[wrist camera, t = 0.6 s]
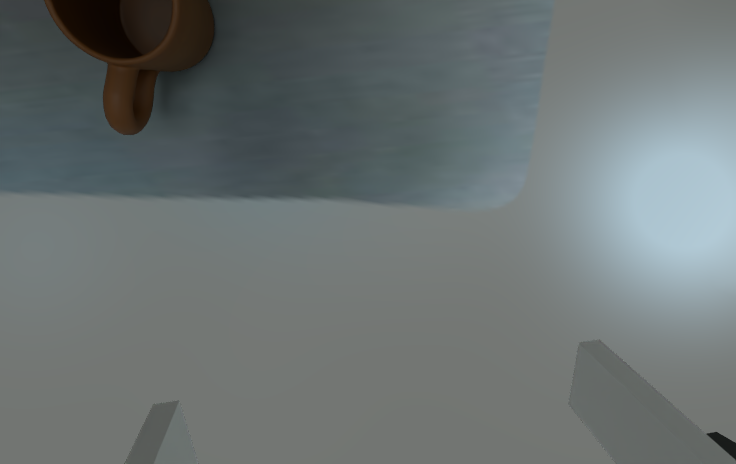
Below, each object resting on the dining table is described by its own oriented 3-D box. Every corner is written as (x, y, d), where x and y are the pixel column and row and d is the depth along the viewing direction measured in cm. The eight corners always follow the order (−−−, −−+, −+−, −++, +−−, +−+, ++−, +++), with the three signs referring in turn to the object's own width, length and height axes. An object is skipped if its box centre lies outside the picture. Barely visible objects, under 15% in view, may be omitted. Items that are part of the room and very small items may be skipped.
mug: (209, 134, 34) (175, 150, 26) (114, 116, 33) (43, 127, 24) (221, -21, 30) (185, -63, 22) (114, -49, 29) (29, -107, 20)
